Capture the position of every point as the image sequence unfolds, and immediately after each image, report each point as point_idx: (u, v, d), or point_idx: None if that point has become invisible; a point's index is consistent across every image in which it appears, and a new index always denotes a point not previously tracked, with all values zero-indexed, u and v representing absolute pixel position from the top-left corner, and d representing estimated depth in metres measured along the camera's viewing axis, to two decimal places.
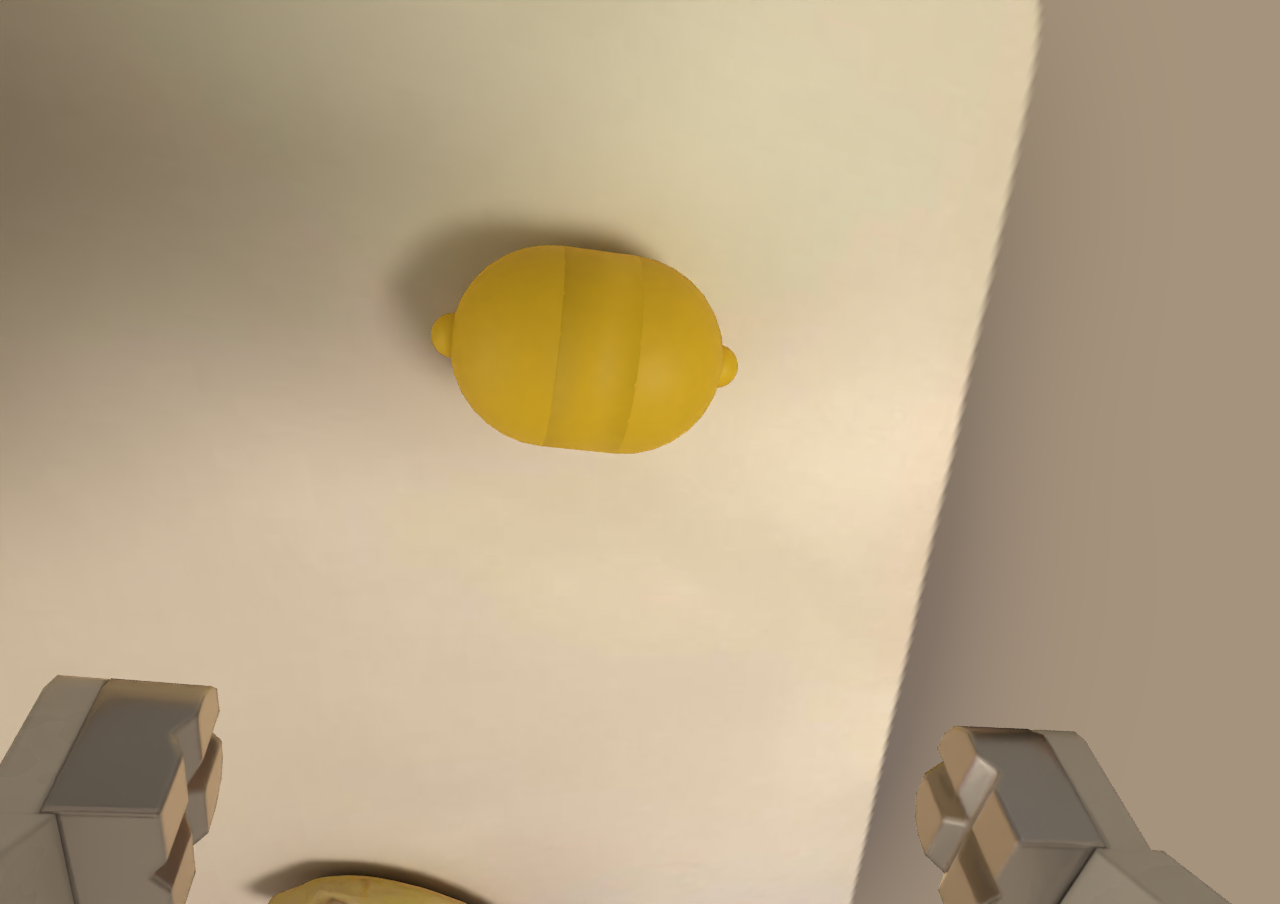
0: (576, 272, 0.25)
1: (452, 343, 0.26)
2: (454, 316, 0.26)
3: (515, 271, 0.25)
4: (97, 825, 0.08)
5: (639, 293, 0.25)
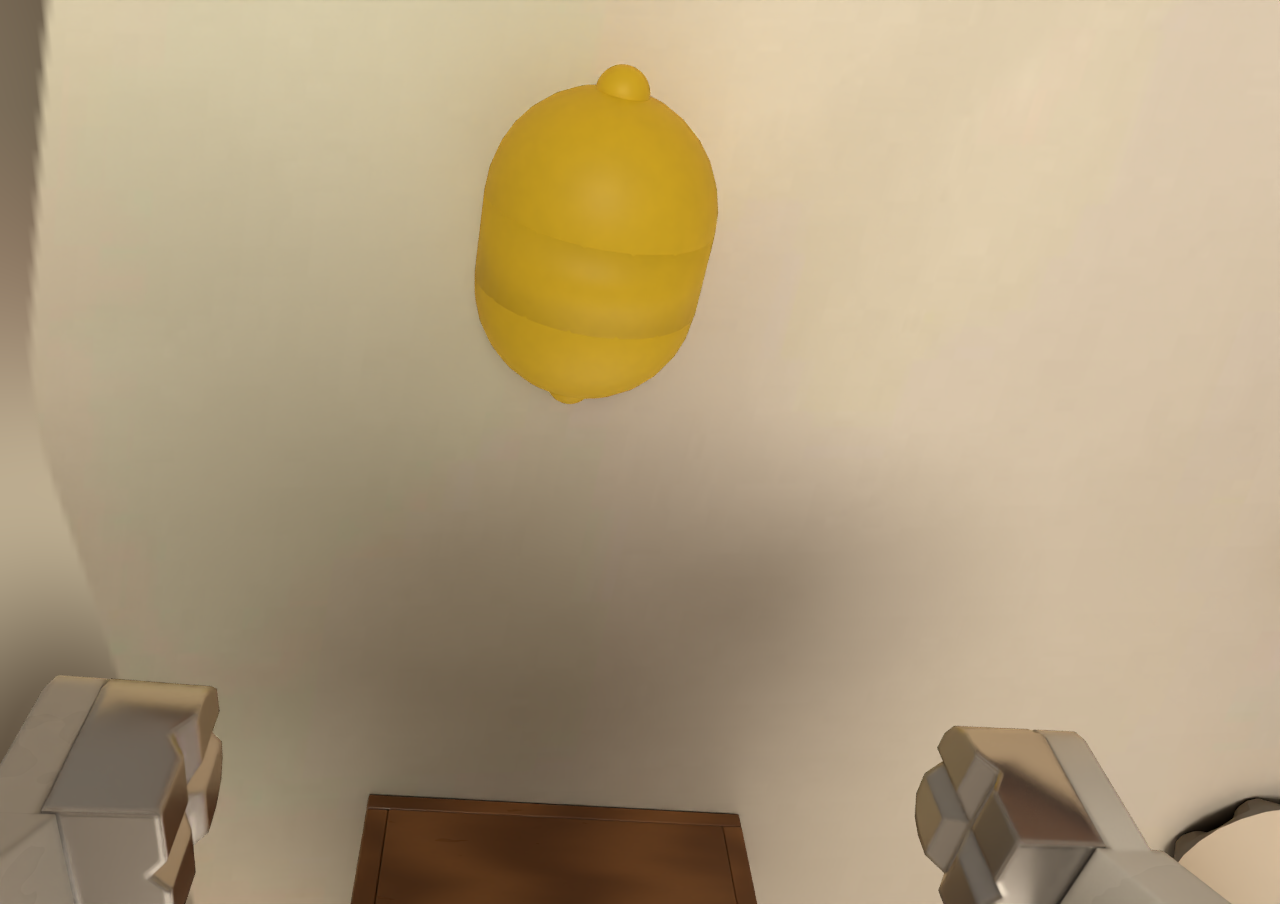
0: (480, 273, 0.22)
1: None
2: None
3: None
4: (97, 825, 0.08)
5: (496, 213, 0.21)
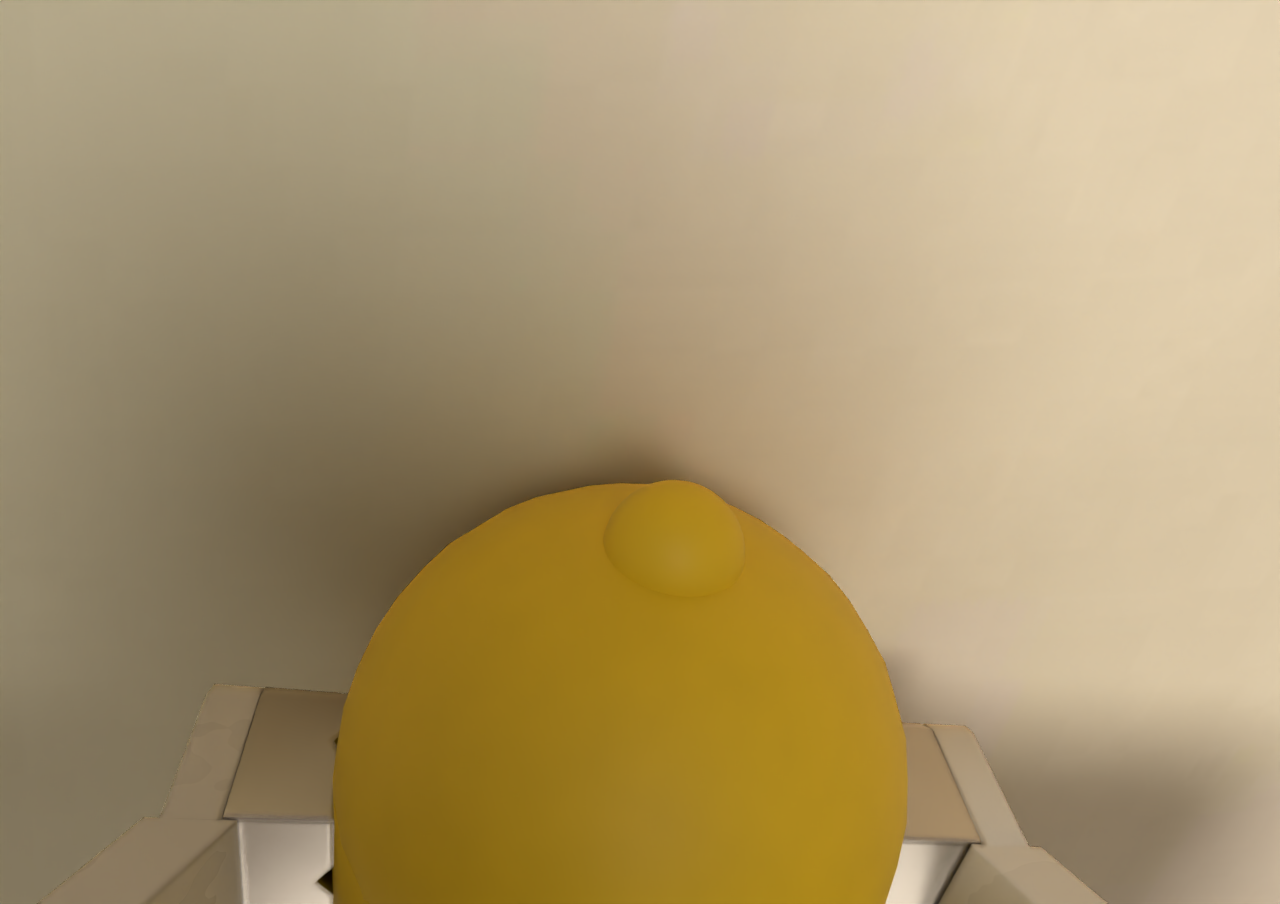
0: None
1: None
2: None
3: None
4: (274, 831, 0.09)
5: (352, 873, 0.08)
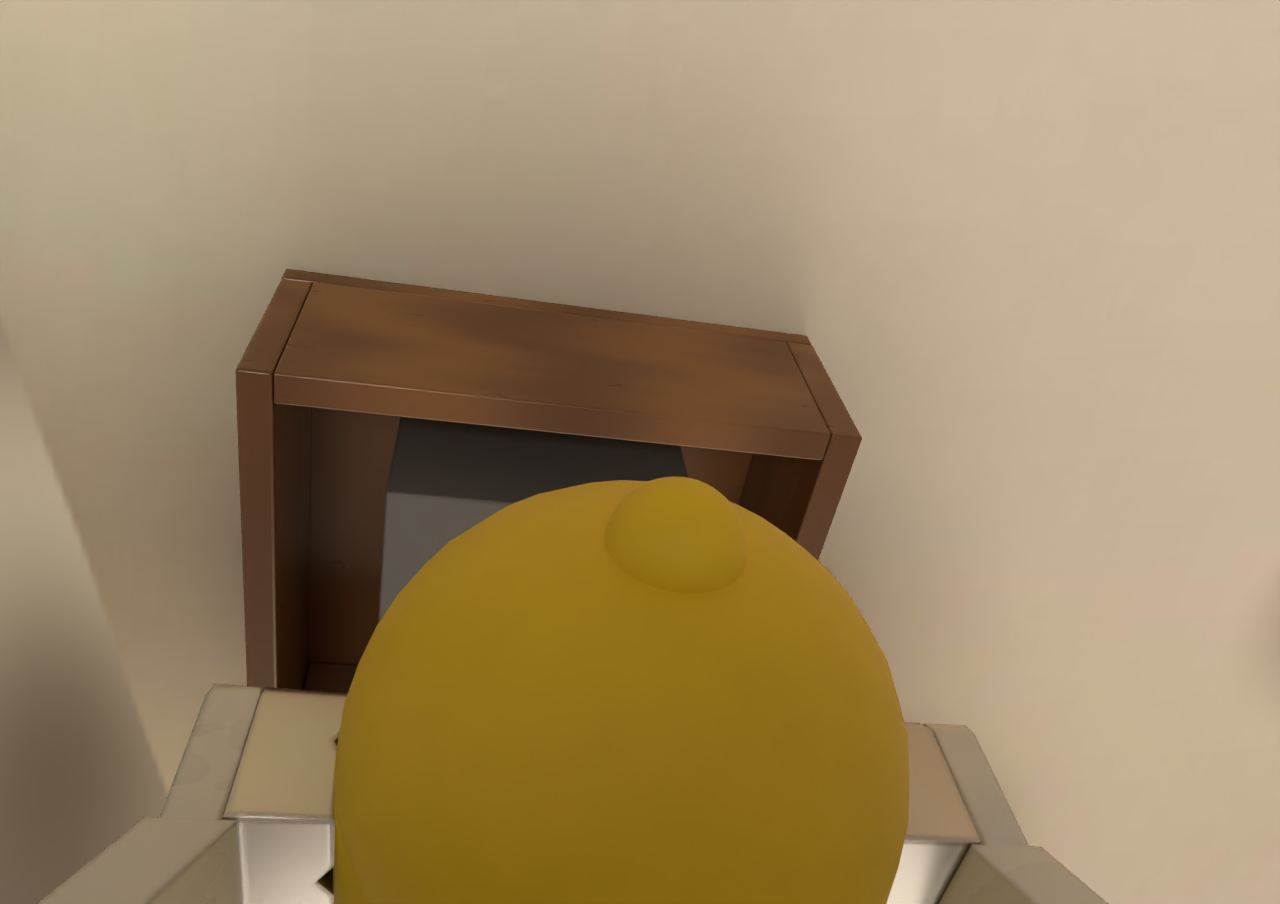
0: None
1: None
2: None
3: None
4: (274, 831, 0.09)
5: (353, 870, 0.08)
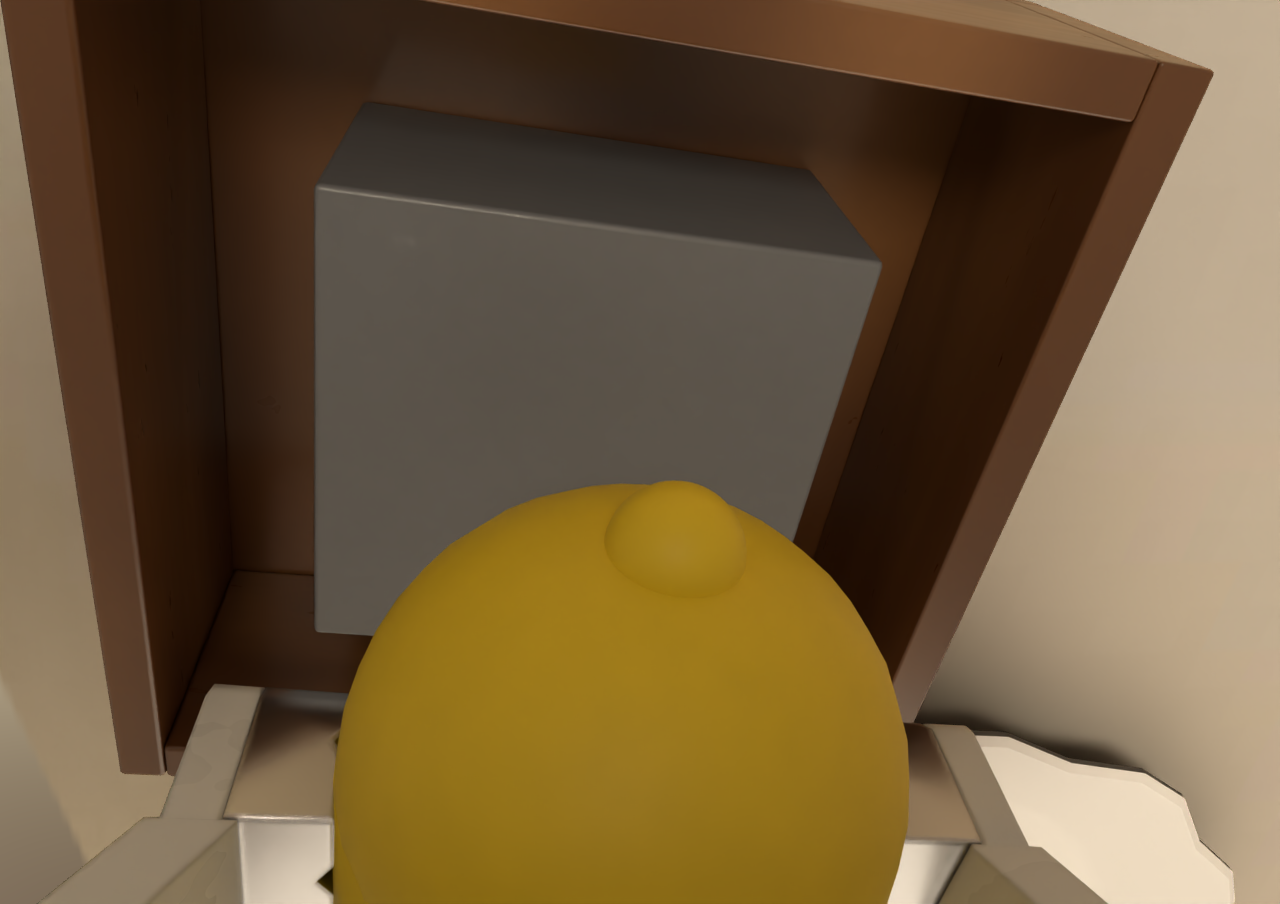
0: None
1: None
2: None
3: None
4: (273, 831, 0.09)
5: (352, 874, 0.08)
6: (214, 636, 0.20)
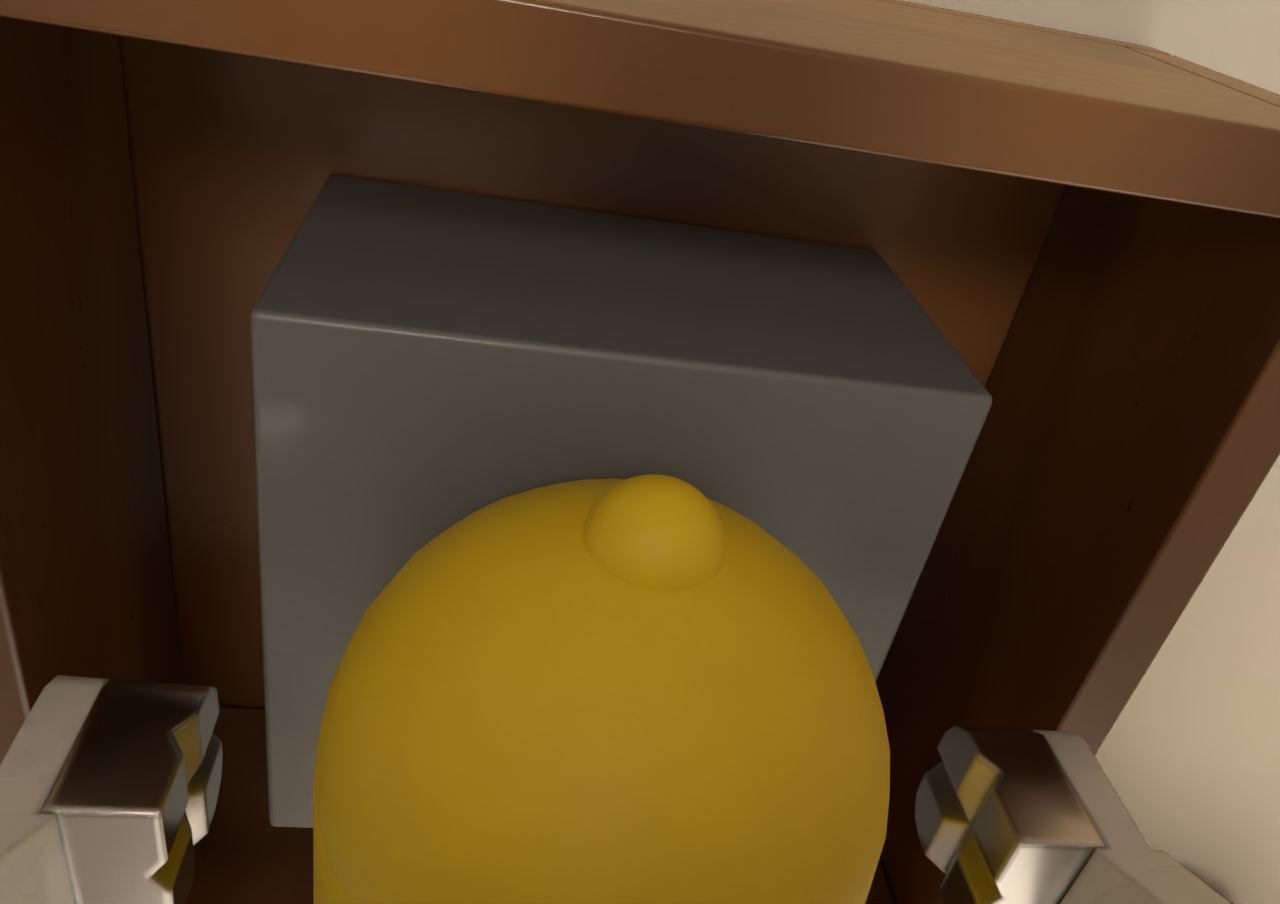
0: None
1: None
2: None
3: None
4: (97, 825, 0.08)
5: (324, 846, 0.08)
6: None
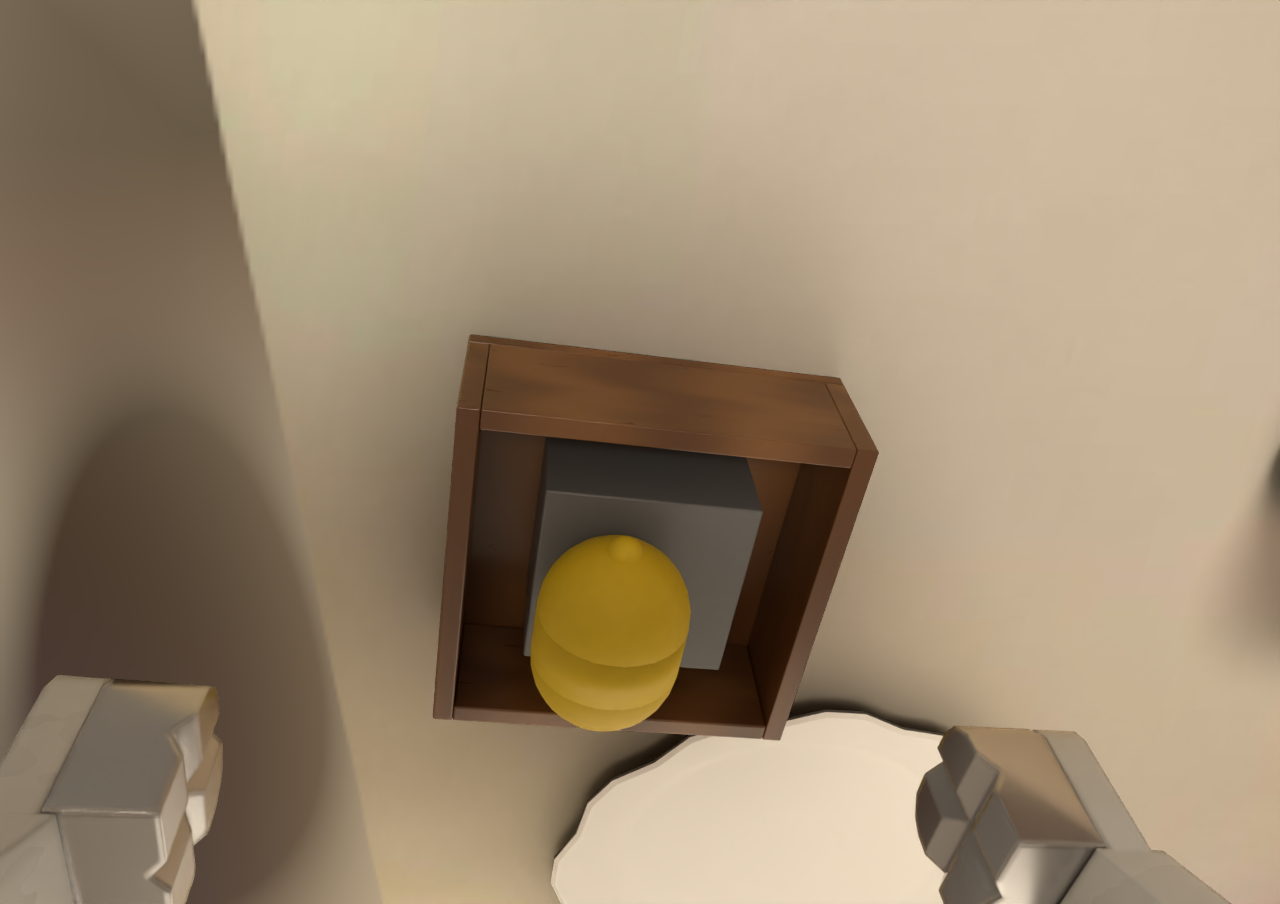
0: (533, 633, 0.35)
1: None
2: None
3: None
4: (97, 825, 0.08)
5: (537, 607, 0.34)
6: (463, 656, 0.42)
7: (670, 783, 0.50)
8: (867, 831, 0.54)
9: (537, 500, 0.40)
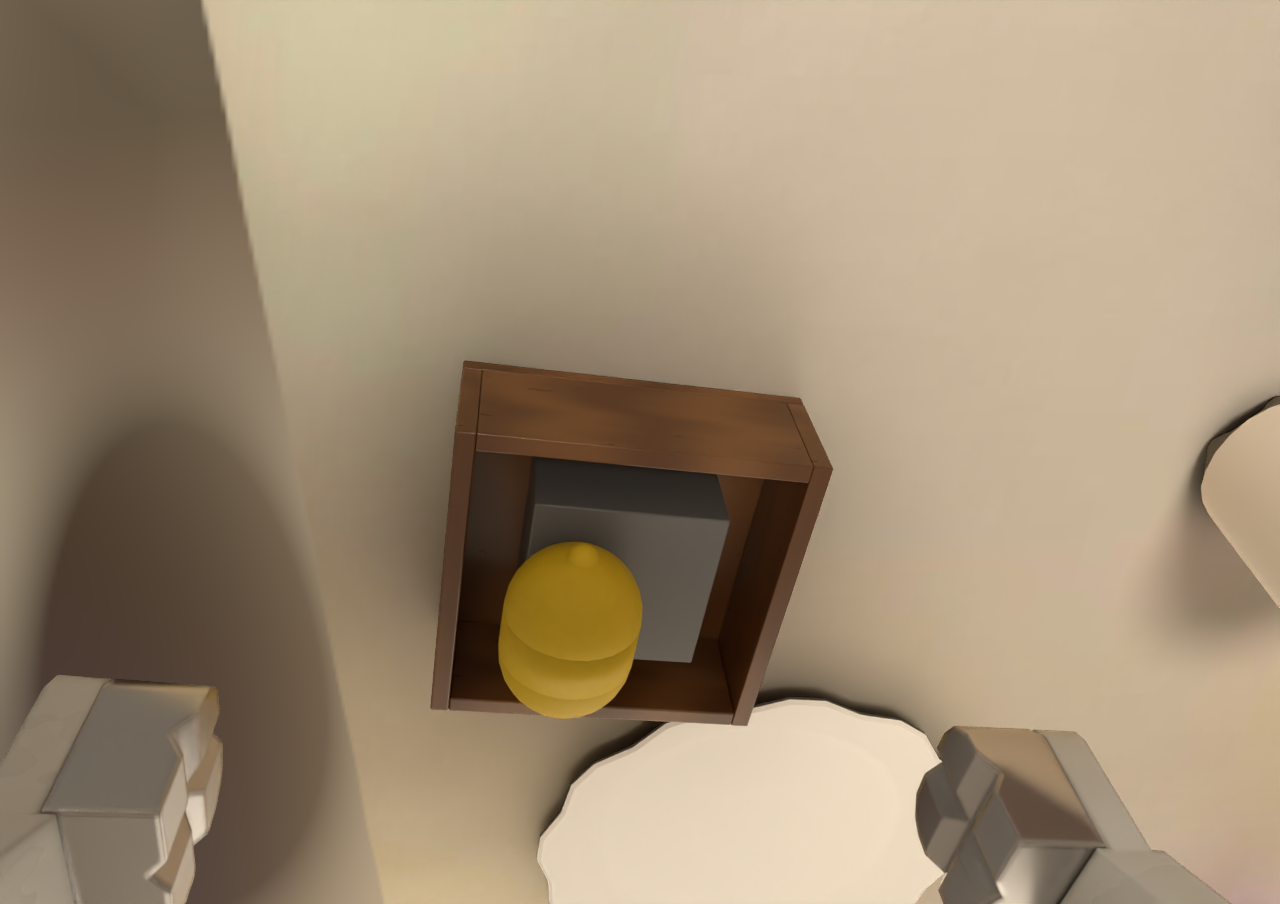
0: None
1: None
2: None
3: None
4: (97, 825, 0.08)
5: None
6: (457, 652, 0.46)
7: (647, 766, 0.55)
8: (829, 808, 0.58)
9: (525, 509, 0.44)
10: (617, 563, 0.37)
